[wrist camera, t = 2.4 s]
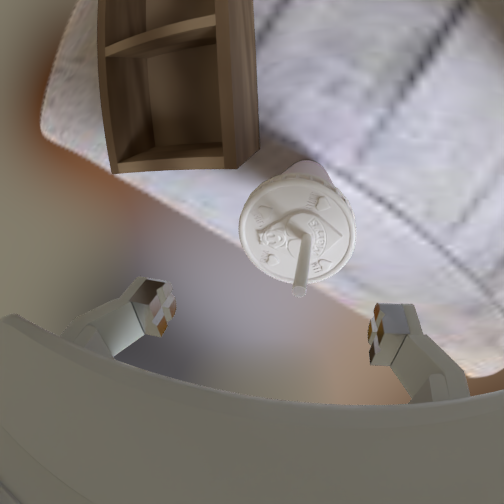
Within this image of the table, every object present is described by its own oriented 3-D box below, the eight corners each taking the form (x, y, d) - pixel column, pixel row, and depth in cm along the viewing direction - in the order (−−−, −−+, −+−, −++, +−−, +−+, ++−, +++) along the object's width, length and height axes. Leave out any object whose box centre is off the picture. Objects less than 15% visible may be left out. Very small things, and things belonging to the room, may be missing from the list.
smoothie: (346, 215, 23) (358, 344, 11) (274, 217, 25) (225, 338, 13) (342, 142, 20) (372, 213, 8) (264, 147, 21) (189, 220, 10)
